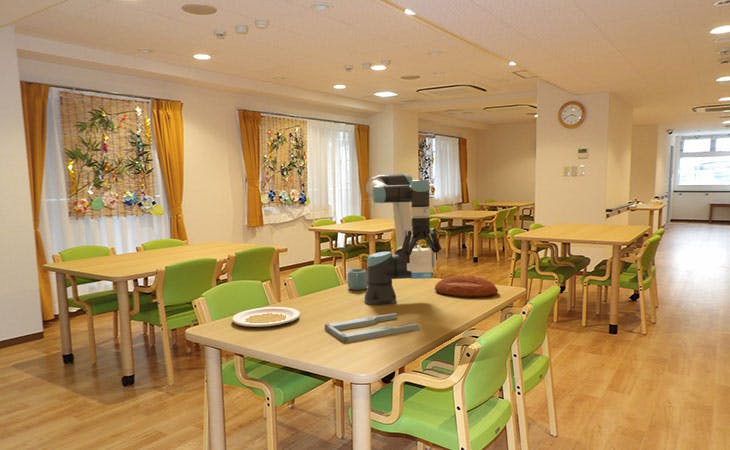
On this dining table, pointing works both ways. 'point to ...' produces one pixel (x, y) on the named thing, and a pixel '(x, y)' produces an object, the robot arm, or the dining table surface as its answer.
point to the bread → (466, 286)
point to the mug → (357, 279)
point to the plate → (289, 312)
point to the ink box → (421, 263)
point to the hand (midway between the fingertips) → (421, 269)
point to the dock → (368, 333)
